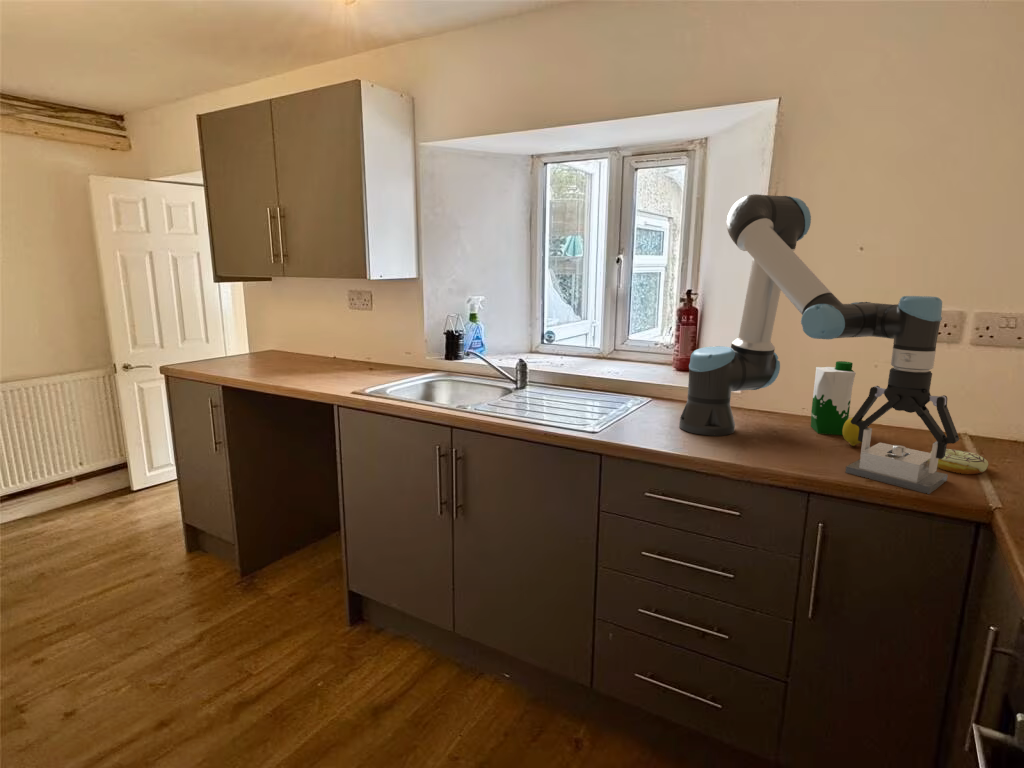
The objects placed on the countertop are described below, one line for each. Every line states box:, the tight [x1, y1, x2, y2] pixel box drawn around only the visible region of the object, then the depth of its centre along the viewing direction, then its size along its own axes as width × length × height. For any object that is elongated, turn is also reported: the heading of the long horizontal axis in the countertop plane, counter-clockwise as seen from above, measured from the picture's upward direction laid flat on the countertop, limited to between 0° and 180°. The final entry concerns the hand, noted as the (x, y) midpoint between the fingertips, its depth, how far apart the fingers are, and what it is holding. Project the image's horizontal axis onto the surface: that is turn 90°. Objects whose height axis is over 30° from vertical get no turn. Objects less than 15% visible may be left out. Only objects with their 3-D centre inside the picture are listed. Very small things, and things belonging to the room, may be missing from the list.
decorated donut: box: [930, 448, 989, 475], centre depth 131 cm, size 10×11×4 cm
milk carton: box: [810, 360, 856, 436], centre depth 159 cm, size 9×9×20 cm
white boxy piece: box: [859, 442, 931, 483], centre depth 125 cm, size 11×11×4 cm
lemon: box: [842, 417, 864, 447], centre depth 147 cm, size 6×6×8 cm
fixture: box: [844, 444, 948, 495], centre depth 125 cm, size 16×12×7 cm
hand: (896, 463), depth 125 cm, fingers open, 12 cm apart
